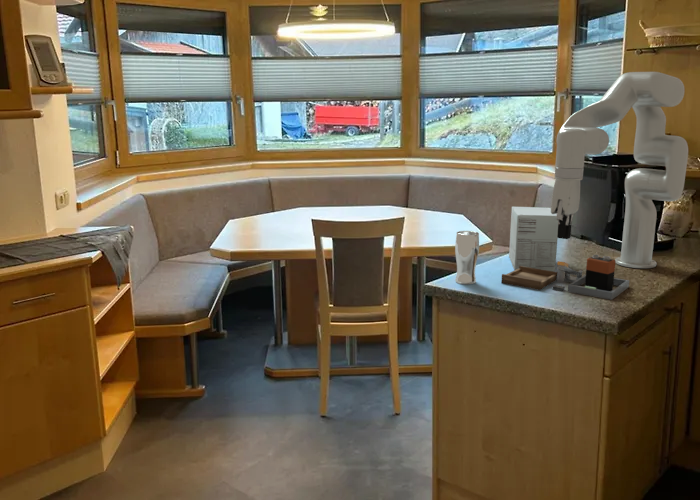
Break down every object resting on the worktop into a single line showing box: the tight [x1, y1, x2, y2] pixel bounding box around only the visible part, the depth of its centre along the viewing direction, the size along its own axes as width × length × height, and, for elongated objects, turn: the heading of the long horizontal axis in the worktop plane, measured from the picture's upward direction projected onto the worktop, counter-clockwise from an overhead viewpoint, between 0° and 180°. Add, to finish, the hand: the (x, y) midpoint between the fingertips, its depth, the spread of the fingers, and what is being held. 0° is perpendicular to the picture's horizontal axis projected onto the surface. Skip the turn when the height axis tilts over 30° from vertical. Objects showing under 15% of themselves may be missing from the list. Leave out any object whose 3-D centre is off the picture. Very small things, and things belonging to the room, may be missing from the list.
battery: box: [584, 254, 616, 292], centre depth 194 cm, size 4×7×10 cm, turn 42°
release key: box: [556, 260, 578, 276], centre depth 198 cm, size 12×2×2 cm, turn 143°
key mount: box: [552, 267, 583, 292], centre depth 199 cm, size 14×5×3 cm, turn 142°
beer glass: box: [454, 230, 480, 286], centre depth 200 cm, size 7×7×15 cm
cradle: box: [567, 273, 630, 301], centre depth 194 cm, size 16×12×2 cm
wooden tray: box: [500, 266, 558, 291], centre depth 202 cm, size 13×12×3 cm
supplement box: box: [508, 206, 559, 272], centre depth 220 cm, size 17×13×18 cm
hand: (563, 237), depth 192 cm, fingers closed
